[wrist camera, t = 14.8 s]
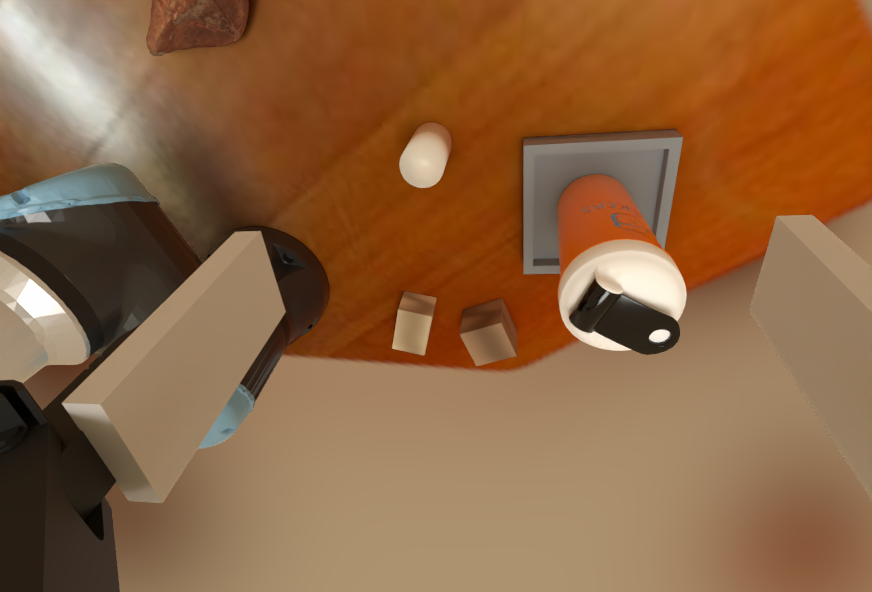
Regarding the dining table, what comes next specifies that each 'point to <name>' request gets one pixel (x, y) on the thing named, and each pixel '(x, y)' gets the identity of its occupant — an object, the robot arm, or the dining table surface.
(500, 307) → the walnut block
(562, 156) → the tray
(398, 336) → the oak block
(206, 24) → the fossil
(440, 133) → the ceramic shaker
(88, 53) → the dining table surface
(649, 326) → the shaker bottle
